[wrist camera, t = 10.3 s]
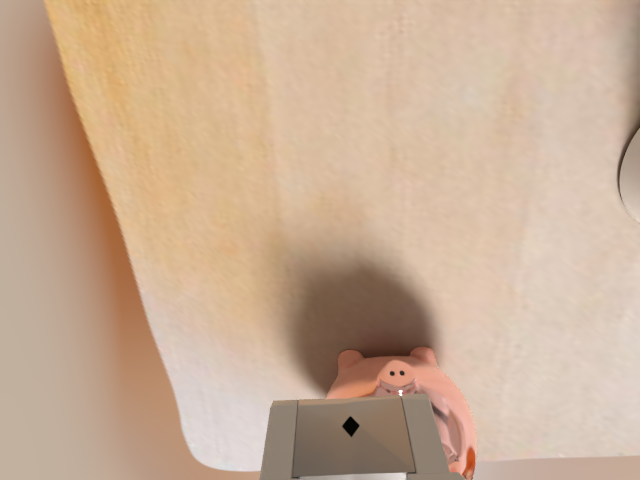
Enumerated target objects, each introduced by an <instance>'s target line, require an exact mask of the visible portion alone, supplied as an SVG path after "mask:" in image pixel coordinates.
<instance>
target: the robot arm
mask: <svg viewBox="0 0 640 480" xmlns="http://www.w3.org/2000/svg"><path fill="white" fill-rule="evenodd" d="M620 193H621V198H622V201H623V203H624V205H625V207H626V209H627V211H628V212H629V214H630V215H631V216H632V217H633V218H634V219H635V220H636V221H637V222H638V223H640V128H639V129H638V131H637V132H636V134H635V135H634V137H633V139H632V141H631V142H630V144H629V146H628V149H627V151H626V153H625V156H624V159H623V162H622V166H621V171H620ZM260 480H466V479H465V478H464V477H463V476H462V475H461V474H460V473H459V472H450V470H449V467H448V463H447V459H446V456H445V452H444V449H443V445H442V442H441V438H440V434H439V431H438V427H437V424H436V420H435V416H434V413H433V409H432V406H431V402H430V398H429V397H428V395H427V394H426V393H425V394H407V395H400V396H399V395H387V396H370V397H354V398H347V399H304V400H281V401H273V403H272V405H271V408H270V414H269V421H268V427H267V434H266V441H265V447H264V454H263V461H262V467H261V474H260Z"/></svg>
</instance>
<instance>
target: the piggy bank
mask: <svg viewBox="0 0 640 480" xmlns="http://www.w3.org/2000/svg"><path fill="white" fill-rule="evenodd" d="M425 393H426V394H427V395H428V397H429V398H430V402H431V406H432V409H433V413H434V416H435V420H436V424H437V427H438V431H439V434H440V438H441V442H442V445H443V449H444V452H445V456H446V459H447V463H448V467H449V470H450V472H459V473H460V474H461V475H462V476H463V477H464V478H465V479H466V480H472V479H473V475H474V471H475V466H476V459H477V435H476V428H475V423H474V419H473V416H472V413H471V410H470V407H469V405H468V403H467V401H466V399H465V397H464V395H463V394H462V392H461V391H460V390H459V388H458V387H457V386H456V384H455V383H454V382H453V381H452V380H451V379H450V378H449V377H448V376H447V375H446V374H445V373H444V372H443V371H442V370H440V369H439V368H438V367H437V363H436V358H435V354H434V352H433V350H432V349H430V348H428V347H418V348H415V349H413V350H412V351H411V353H410V355H409V356H381V357H371V358H364V357H363V356H362V354H361V353H360V352H358V351H356V350H346V351H343V352H342V353H341V354H340V355H339V357H338V376H337V378H336V380H335V381H334V383H333V385H332V386H331V388H330V390H329V392H328V394H327V396H326V398H325V399H347V398H354V397H370V396H387V395H399V396H400V395H407V394H425Z"/></svg>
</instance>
